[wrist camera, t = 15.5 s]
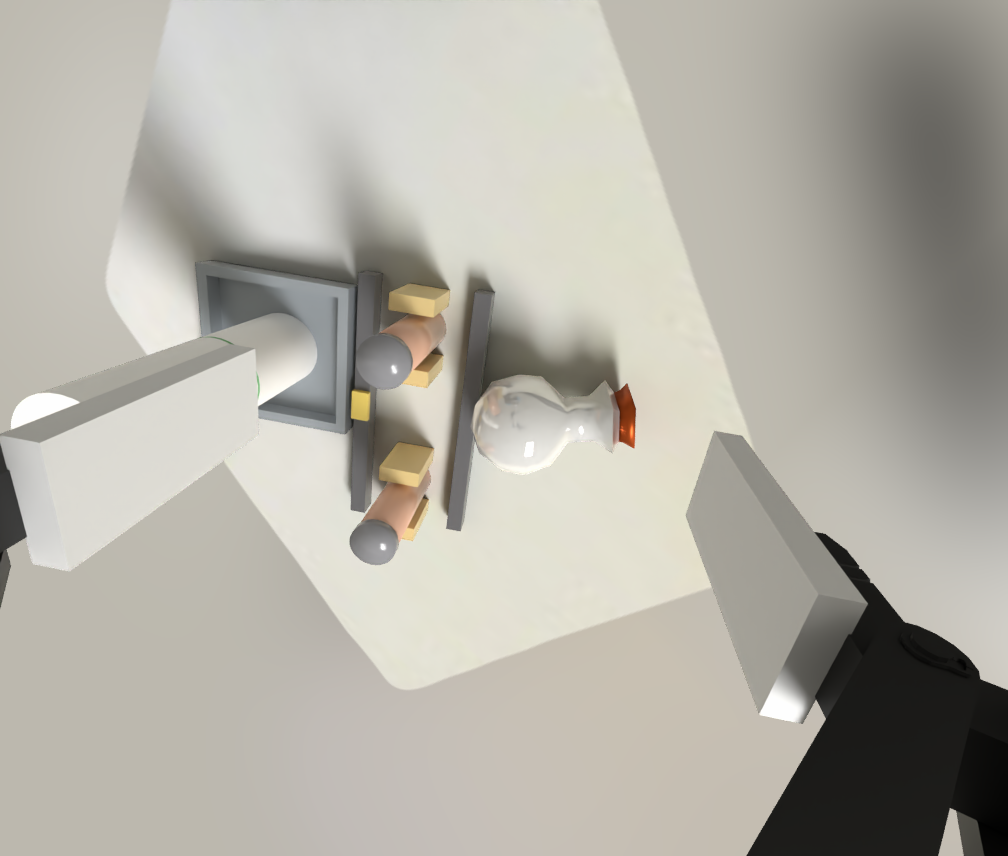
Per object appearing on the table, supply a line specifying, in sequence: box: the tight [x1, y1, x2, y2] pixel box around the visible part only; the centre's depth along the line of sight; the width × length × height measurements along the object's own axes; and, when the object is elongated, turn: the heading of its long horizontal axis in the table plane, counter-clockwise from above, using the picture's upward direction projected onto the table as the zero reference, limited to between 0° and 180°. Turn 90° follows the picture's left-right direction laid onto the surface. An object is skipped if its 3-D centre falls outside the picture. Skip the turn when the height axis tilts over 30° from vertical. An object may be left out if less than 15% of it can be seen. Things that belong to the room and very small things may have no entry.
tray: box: [195, 260, 358, 434], centre depth 53 cm, size 15×15×2 cm
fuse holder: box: [351, 271, 495, 541], centre depth 52 cm, size 26×13×6 cm, turn 172°
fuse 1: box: [356, 313, 446, 389], centre depth 46 cm, size 4×4×13 cm
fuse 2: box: [350, 470, 431, 565], centre depth 53 cm, size 4×4×13 cm
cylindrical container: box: [11, 313, 317, 430], centre depth 42 cm, size 7×7×25 cm
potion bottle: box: [470, 375, 636, 475], centre depth 49 cm, size 9×10×15 cm
